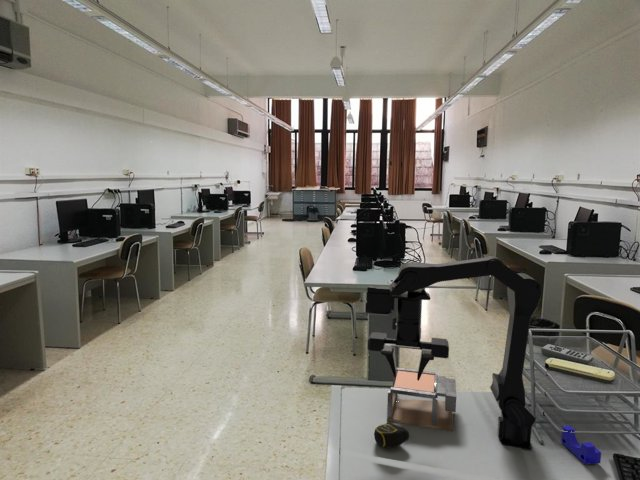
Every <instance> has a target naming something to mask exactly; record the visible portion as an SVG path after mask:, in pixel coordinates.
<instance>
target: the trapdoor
mask: <svg viewBox="0 0 640 480" xmlns="http://www.w3.org/2000/svg"><path fill="white" fill-rule="evenodd" d="M417 375H418V373H413V372H405V371H398V372H397V376H396V380H395V385H394V387H395V388H402V389H410V390H417V391H424V392H432V393H435V396H437V397H443V398H444V401H445V411H451V412H452V413H456V411H457V410H456V409H457V386H456V385H457V384H456V382H457V381H456V378H449V377H448V378H447V377H446V376H444V375H437V374H436V375H429V374H422V375H421V377H420V379H419V381H418V380H417Z"/></svg>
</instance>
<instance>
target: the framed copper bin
mask: <svg viewBox="0 0 640 480" xmlns="http://www.w3.org/2000/svg"><path fill="white" fill-rule="evenodd" d="M396 369H397V372H398V371H405V372H413V373H418V369H412V368H404V367H397V366H396ZM422 374H429V375H437V372H436V371H427V370H423V372H422ZM396 376H397V373H396ZM395 380H396V378H394V375H393V374H392V386H391V387H390V389H389V390H387V405H386V406H387V407H386V409H387V411H386V421H387V422H392V423H393V422H394V423H400V424H406V425H413V426H418V427H424V428H425V427H426V428H430V429H431V428H432V429H436V430H437V429H438V430H444V431H448V432H449V431H450V432H454V428H453V427H454V425H453V423H454V422H453V421H454V420H453V419H454V418H453V412H451V411H445V400H444V401H443V400H439V398H438V397H439V396H435V393H432V392H424V391H417V390H410V389H402V388H395V387H394V385H395ZM398 395H403V396H411V397H418V398H422V399H407V398H405V399H404V398H397V397H398ZM423 398H425V399H424V400H423ZM427 399H429V400H427ZM430 399H432V400H430ZM396 401H397V402H396ZM398 401H399V402H398Z"/></svg>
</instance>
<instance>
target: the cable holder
mask: <svg viewBox="0 0 640 480" xmlns="http://www.w3.org/2000/svg"><path fill="white" fill-rule="evenodd" d="M562 429H563V430H564V431H568V432H562V431H561V434H560V435H561V436H560V437H561V438H560V443H561V442H562V443H563V444H564V445H563V444H562V443H561V444H562V445H563V446H565V447H566V449H568V450H569V451H570V452H571V453H573V455H574V456H576V457H577V459H579V460H580V461H581V462H582V463H583V464H584V465H589V464H590V465H591V464H592V465H594V464H601V459H602V452H601V451H600V450H599V449H597V448H596V445H594V444H593V443H592V442H581V444H580V443H579V441H578V439H577V437H576V432H575V430H576V429H575V428H574V427H572V426H571V425H563V426H562V427H561V430H562ZM571 431H572V432H575V433H570V432H571Z"/></svg>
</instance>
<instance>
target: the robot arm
mask: <svg viewBox="0 0 640 480" xmlns="http://www.w3.org/2000/svg"><path fill="white" fill-rule="evenodd" d="M488 276H489V277H490V276H492V277H494V278H495V279H496V280H497V281H499V282H500V283H502V284H503V285H504V286H505V287H506V288H507V289H506V290H507V291H506V293H507V301H508V306H509V318H508V326H507V330H506V331H507V332H506V333H507V334H506V340H505V346H504V347H505V348H504V354H503V361H502V368H501V370H500V371H499V373H495V372H493V373H492V375H491V376H492V382H491V385H490V386H489V389H490V391H491V393H492V395H493V397H494V399H495V401H496V402H497V403H496V404H497V405H498V407H499V410H501V411H500V415H499V416H498V417H497V430H496V431H497V432H496V434H497V437H498V439H499V440H500V444H501V445H503V446H507V447H512V448H520V449H523V450H528V451H529V450H533V446H532V444H531V440H532V427H533V425H534V424H535V422H536V416H535V415H534V413H533V411H532V410H531V408H530V406H529V405H528V403H527V402H526V391H525V390H526V389H525V385H524V380H523V379H524V378H523V373H524V367H525V360H526V354H527V352H526V351H527V346H528V339H529V333H530V326H531V319H532V316H533V315H534V313H535V312H536V310H537V309H538V308H539V305H540V301H541V298H542V295H543V287H542V285H541V284H540V283H539V281H537V280H536V279H534V278H533V277H532V276H530V275H528V274H527V273H523V272H520V273H519V272H516V271H515V270H513V269H512V268H511V267H509V266H508V265H506V264H505V263H504V262H503V261H502V260H501V259H500V258H498V257H497V256H494V255H488V256H485V257H479V258H478V257H477V258H472V259H464V260H457V261H449V262H441V263H427V262H416V261H415V262H412V261H411V262H410V261H409V262H405V263H403V264H402V265H401V266H400V267H399V269H398V272H397V277H396V278H395V279H394V280H393V281H392V282H391V284H390V285H389V286H375V285H367V291H366V301H365V315H375V316H376V315H377V316H390V314H392V312H394V311H395V299H396V300H397V301H396V317H392V321H391V322H392V323H391V324H392V325H391V330H392V331H396V332H395V333H396V334H395V338H389V337H387V333H386V332H377V331H376V332H375V331H374V332H373V331H372V332H371V333H370V335H369V337H368V340H367V350H368V351H371V352H380V354H381V355H382V356H384V357H385V358H386V360H387V362H388V364H389V367H390V369H391V371H392V376H393V375H394V378H396V373H397V369H396V367H397V359H396V358H397V357H396V348H399V349H400V348H401V349H411V350H421V351H420V358H419V363H418V369H417V370H418V375H417V380H418V381H419V379H420V377H421V375H422V372H423V371H425V368H426V367H427V365H428V363H430V362H429V361H434V360H435V358H440V359H449V356H450V355H449V354H450V353H449V352H450V347H449V345H450V343H449V341H448V339H447V338H441V337H440V338H438V337H431V341H421V338H422V306H423V305H422V304H423V302H422V301H430V300H431V298H432V297H431V295H430V293H428V291H426V288H428V287H430V286H433V285H435V284H438V283H440V282H441V283H442V282H449V281H455V280H464V279H465V280H466V279H472V278H474V279H475V278H481V277H488Z"/></svg>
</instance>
